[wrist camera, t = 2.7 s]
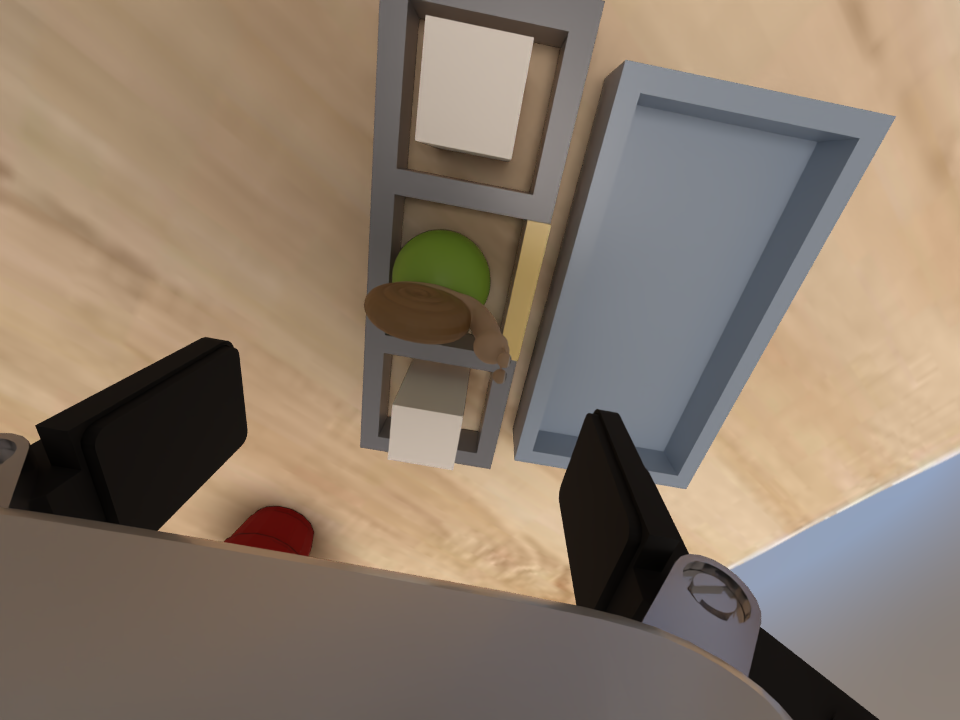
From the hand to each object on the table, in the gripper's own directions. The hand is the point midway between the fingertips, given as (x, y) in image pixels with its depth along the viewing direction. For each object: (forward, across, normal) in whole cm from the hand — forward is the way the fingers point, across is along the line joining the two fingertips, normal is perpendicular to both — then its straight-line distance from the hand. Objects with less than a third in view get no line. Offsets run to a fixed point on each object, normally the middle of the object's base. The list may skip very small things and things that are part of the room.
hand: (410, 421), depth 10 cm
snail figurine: (+16, +1, -1) cm, 16 cm away
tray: (+16, -11, -1) cm, 19 cm away
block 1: (+16, +1, +8) cm, 17 cm away
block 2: (+15, +1, -9) cm, 18 cm away
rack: (+15, +1, -1) cm, 15 cm away
